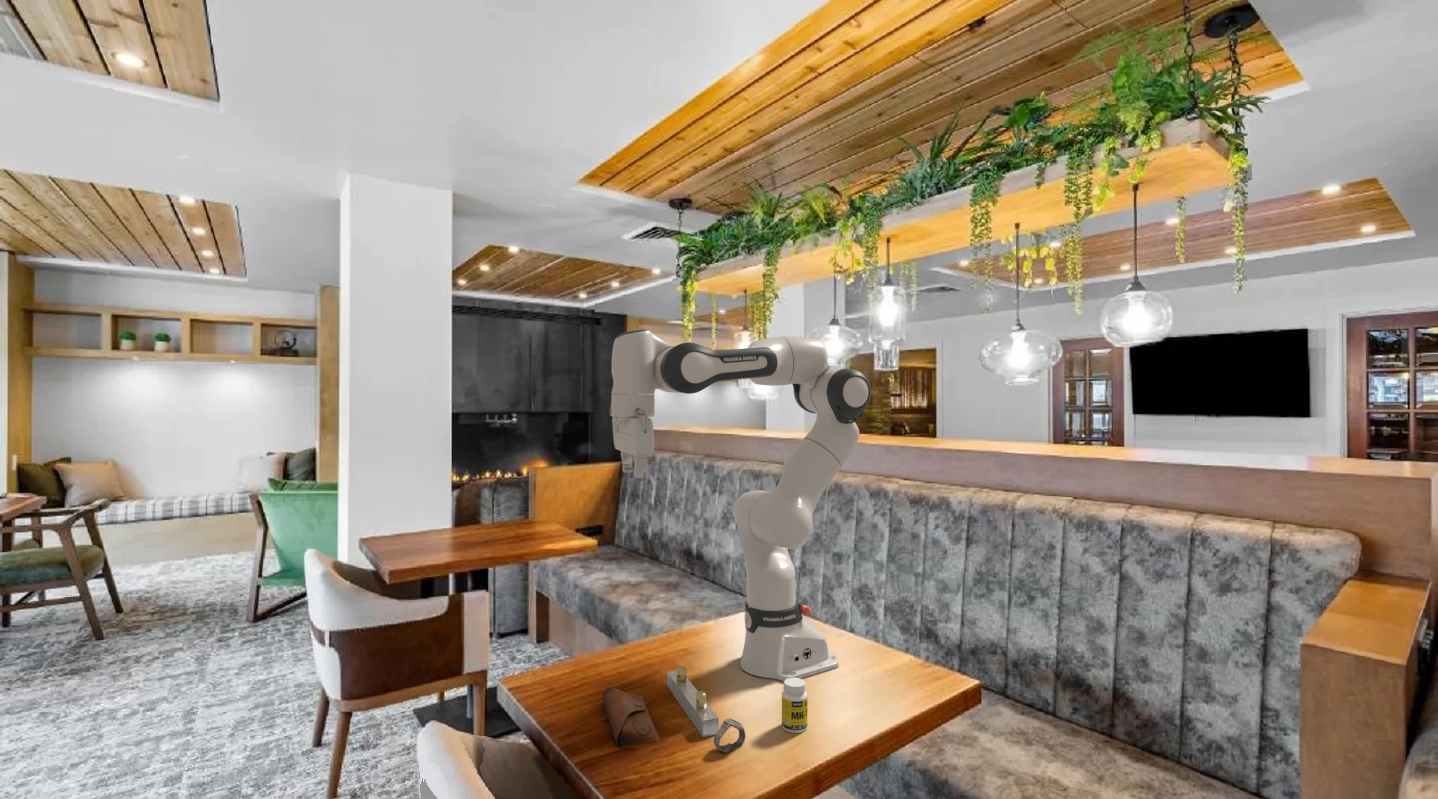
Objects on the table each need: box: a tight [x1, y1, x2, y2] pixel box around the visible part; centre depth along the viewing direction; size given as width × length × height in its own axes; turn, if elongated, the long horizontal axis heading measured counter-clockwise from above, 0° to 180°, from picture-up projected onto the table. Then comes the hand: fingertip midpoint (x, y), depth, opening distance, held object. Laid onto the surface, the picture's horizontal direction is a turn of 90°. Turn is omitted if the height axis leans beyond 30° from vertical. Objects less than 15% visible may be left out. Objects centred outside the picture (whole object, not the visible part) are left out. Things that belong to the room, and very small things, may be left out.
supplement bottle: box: [781, 678, 809, 734], centre depth 120 cm, size 5×5×8 cm
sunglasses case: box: [602, 686, 661, 749], centre depth 123 cm, size 18×7×7 cm
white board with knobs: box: [666, 665, 720, 738], centre depth 127 cm, size 3×22×6 cm, turn 22°
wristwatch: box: [713, 717, 746, 754], centre depth 113 cm, size 4×6×5 cm, turn 127°
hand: (632, 475), depth 134 cm, fingers open, 8 cm apart
